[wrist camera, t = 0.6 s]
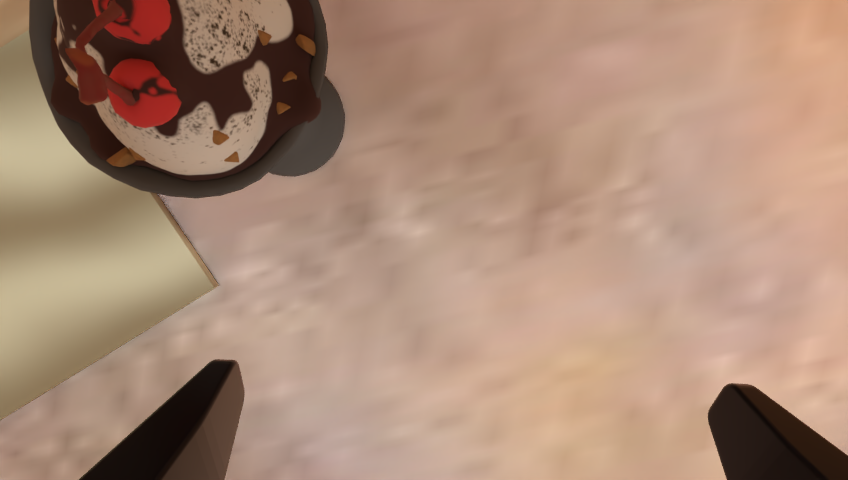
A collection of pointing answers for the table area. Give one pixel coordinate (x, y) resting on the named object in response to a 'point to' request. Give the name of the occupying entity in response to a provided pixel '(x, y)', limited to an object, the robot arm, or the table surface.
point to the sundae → (189, 89)
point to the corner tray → (72, 242)
